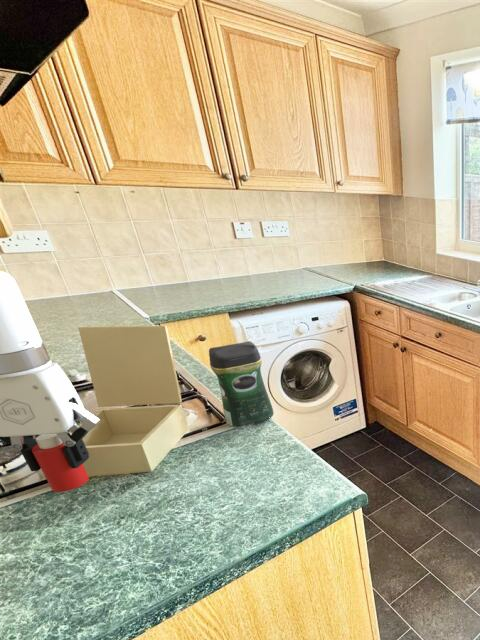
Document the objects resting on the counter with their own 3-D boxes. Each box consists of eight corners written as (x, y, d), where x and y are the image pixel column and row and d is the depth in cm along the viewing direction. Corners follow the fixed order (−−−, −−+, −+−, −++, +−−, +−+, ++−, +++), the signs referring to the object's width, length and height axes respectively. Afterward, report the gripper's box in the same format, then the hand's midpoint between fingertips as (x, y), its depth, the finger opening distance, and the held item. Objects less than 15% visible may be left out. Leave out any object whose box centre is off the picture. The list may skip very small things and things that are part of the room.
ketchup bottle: (44, 493, 66) (18, 444, 62) (64, 476, 70) (41, 429, 66) (77, 490, 67) (54, 442, 63) (95, 474, 71) (74, 427, 67)
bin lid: (164, 326, 85) (167, 325, 85) (77, 327, 81) (80, 326, 82) (180, 403, 89) (182, 402, 90) (98, 407, 86) (101, 405, 86)
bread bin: (153, 474, 79) (141, 444, 76) (58, 482, 75) (43, 450, 72) (190, 431, 92) (181, 404, 90) (111, 436, 89) (100, 408, 86)
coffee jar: (267, 406, 104) (252, 336, 96) (278, 419, 99) (262, 345, 91) (222, 418, 98) (201, 344, 90) (231, 432, 93) (210, 354, 85)
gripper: (-95, 372, 54) (-26, 485, 62) (63, 367, 58) (109, 473, 66) (-41, 352, 61) (15, 456, 69) (97, 348, 65) (136, 447, 72)
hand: (61, 463), depth 67 cm, fingers closed on ketchup bottle, 4 cm apart
